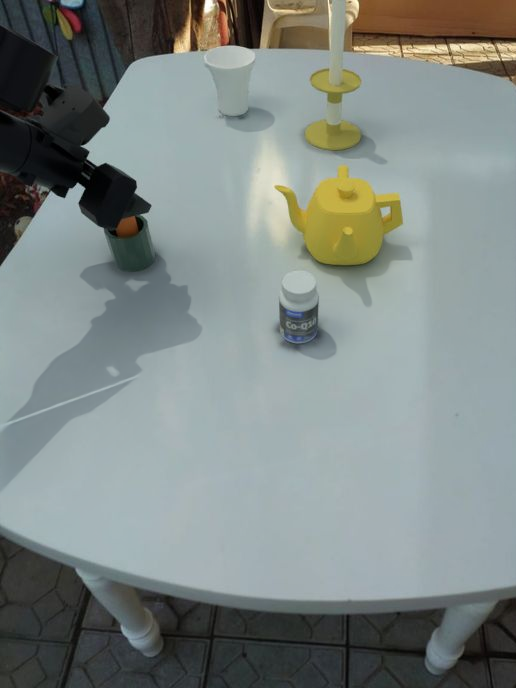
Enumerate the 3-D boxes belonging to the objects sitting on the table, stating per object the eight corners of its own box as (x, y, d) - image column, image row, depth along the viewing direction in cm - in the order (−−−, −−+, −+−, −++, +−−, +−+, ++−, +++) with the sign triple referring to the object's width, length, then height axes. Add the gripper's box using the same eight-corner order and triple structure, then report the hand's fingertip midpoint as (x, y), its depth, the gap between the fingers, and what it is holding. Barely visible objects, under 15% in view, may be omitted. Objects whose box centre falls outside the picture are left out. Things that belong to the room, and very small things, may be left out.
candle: (362, 151, 101) (378, -28, 80) (304, 149, 100) (305, -30, 80) (360, 121, 107) (374, -51, 87) (305, 119, 107) (306, -53, 86)
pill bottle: (284, 348, 72) (283, 299, 65) (276, 320, 74) (274, 271, 68) (322, 340, 72) (324, 292, 66) (312, 314, 75) (313, 264, 69)
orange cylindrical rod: (137, 263, 80) (116, 184, 70) (119, 259, 80) (95, 180, 71) (148, 251, 82) (128, 172, 72) (130, 246, 82) (108, 167, 73)
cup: (201, 104, 109) (194, 49, 102) (247, 94, 112) (243, 40, 105) (219, 127, 104) (212, 70, 97) (266, 116, 107) (264, 60, 100)
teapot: (275, 242, 84) (272, 183, 77) (340, 204, 91) (343, 145, 83) (344, 291, 78) (348, 232, 71) (408, 246, 85) (418, 187, 77)
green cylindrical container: (115, 274, 79) (105, 242, 75) (112, 248, 82) (102, 216, 78) (157, 267, 80) (150, 235, 76) (152, 241, 84) (144, 209, 79)
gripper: (98, 107, 55) (204, 165, 69) (-1, 44, 63) (112, 107, 77) (49, 212, 57) (161, 248, 71) (-40, 139, 65) (76, 184, 79)
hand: (127, 192), depth 74 cm, fingers open, 9 cm apart
